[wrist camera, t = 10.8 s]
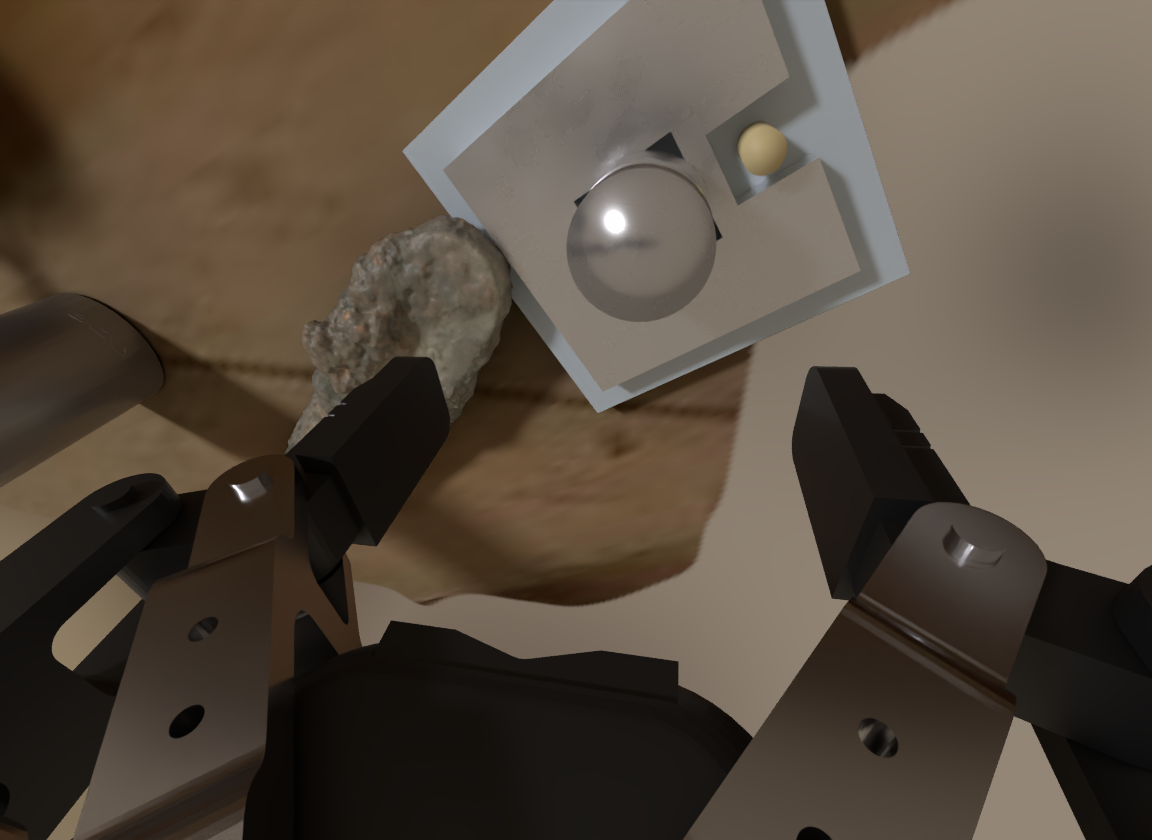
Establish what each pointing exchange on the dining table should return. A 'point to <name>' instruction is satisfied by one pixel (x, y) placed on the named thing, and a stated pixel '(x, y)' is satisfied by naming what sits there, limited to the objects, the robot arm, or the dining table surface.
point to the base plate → (741, 145)
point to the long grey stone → (412, 315)
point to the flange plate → (639, 112)
